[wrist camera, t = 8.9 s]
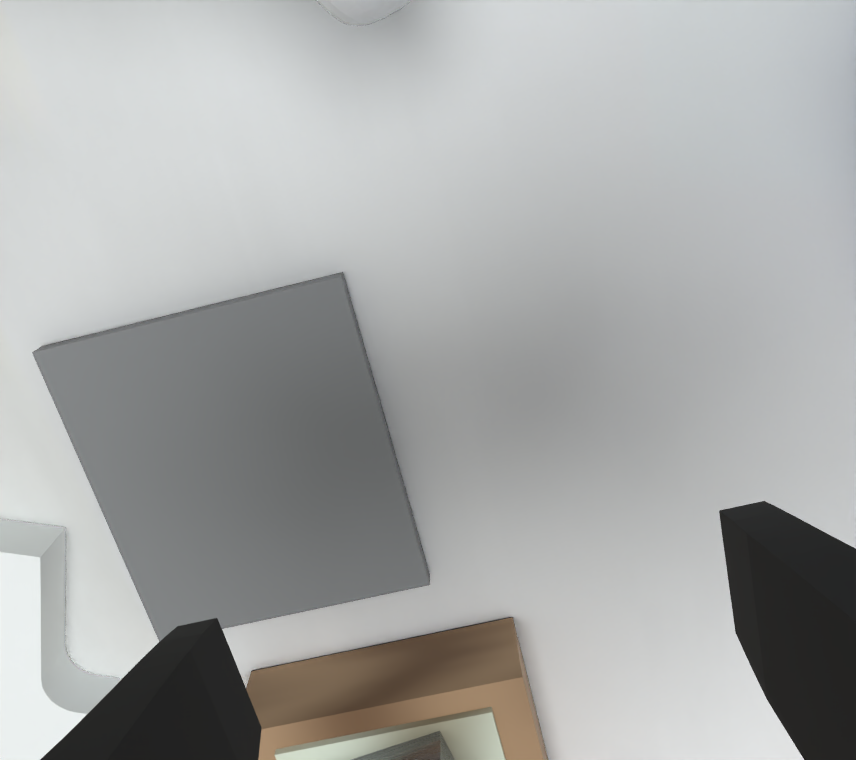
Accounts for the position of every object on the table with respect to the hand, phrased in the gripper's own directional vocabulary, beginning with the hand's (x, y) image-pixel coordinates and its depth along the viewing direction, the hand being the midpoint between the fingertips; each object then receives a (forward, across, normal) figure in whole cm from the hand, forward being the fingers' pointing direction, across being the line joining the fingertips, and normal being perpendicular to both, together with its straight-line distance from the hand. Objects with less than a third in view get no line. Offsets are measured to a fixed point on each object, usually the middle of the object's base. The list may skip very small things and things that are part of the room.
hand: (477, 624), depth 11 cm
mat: (+10, +6, +1) cm, 12 cm away
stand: (+10, +4, +12) cm, 16 cm away
